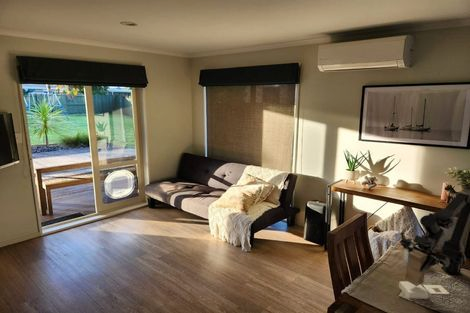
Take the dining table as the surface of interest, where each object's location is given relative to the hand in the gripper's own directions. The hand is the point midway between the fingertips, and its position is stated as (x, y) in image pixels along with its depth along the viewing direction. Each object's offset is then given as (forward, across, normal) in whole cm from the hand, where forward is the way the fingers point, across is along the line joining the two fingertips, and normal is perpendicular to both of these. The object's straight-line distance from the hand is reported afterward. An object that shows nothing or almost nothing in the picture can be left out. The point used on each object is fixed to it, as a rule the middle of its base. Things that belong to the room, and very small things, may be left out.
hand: (414, 268), depth 127 cm
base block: (+8, 0, +10) cm, 12 cm away
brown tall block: (+4, 0, +6) cm, 7 cm away
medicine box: (-10, -14, +27) cm, 32 cm away
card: (0, +4, +17) cm, 17 cm away
